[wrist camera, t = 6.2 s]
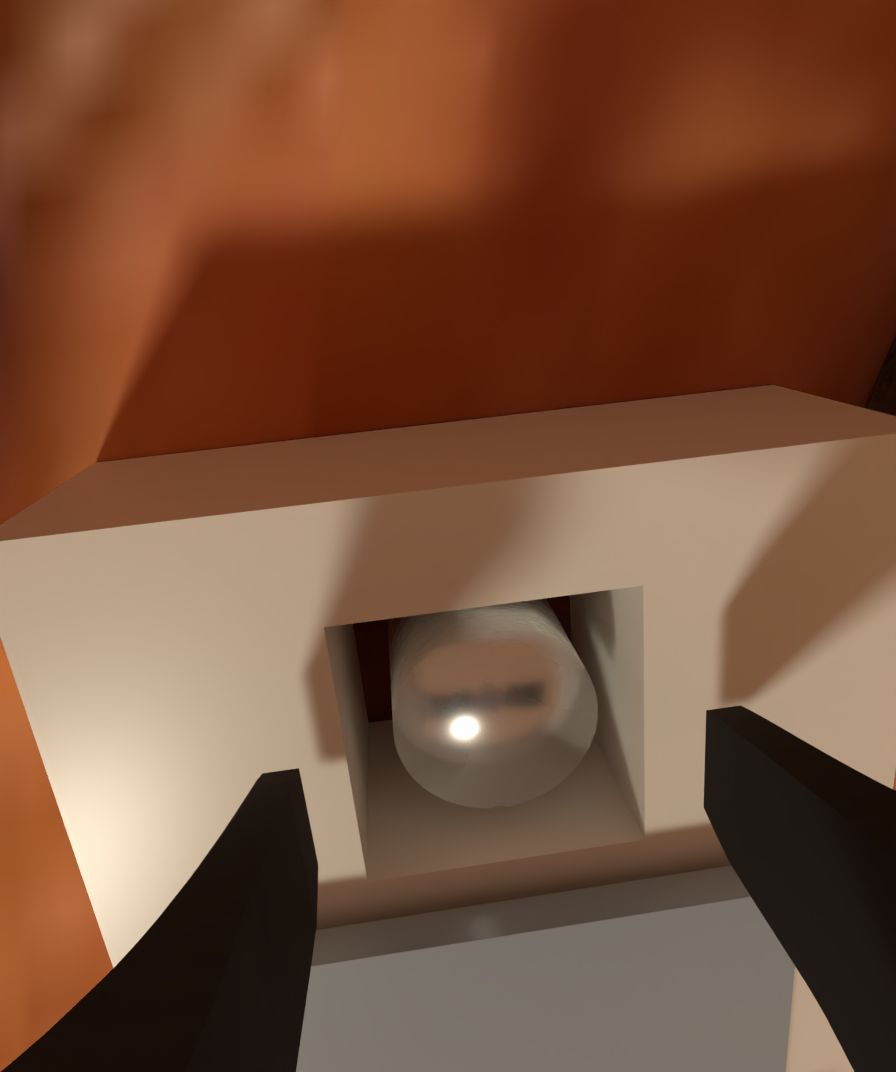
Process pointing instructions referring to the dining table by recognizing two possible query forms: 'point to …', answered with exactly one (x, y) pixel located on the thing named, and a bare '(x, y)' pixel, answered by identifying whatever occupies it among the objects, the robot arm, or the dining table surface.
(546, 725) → the peg
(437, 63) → the dining table surface
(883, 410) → the hand tool
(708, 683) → the housing
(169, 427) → the dining table surface
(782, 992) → the cover
